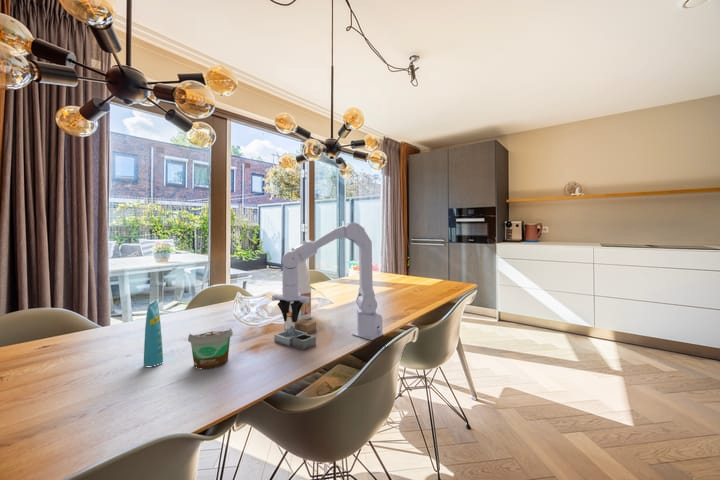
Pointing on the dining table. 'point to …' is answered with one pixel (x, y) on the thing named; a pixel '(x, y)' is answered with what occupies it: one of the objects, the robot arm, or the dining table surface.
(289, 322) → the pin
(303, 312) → the fruit juice
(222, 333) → the food container
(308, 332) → the chock
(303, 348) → the socket
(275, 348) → the dining table surface
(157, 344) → the tube
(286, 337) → the tray
